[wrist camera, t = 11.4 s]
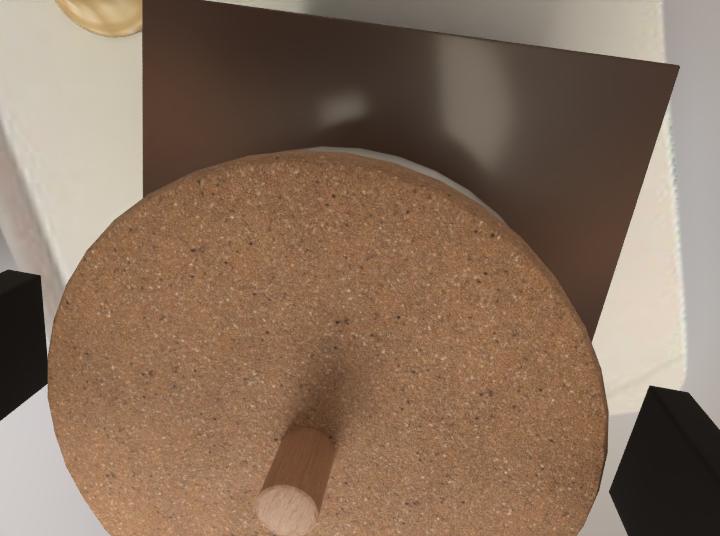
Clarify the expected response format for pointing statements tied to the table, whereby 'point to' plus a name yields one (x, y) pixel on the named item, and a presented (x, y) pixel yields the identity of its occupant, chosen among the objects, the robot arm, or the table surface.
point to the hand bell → (105, 15)
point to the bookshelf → (415, 117)
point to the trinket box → (324, 361)
